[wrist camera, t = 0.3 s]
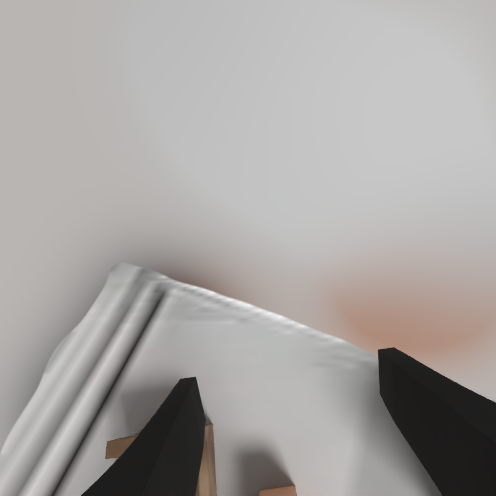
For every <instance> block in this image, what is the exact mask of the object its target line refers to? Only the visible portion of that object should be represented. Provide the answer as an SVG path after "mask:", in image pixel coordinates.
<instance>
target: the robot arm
mask: <svg viewBox="0 0 496 496" xmlns="http://www.w3.org/2000/svg"><path fill="white" fill-rule="evenodd" d="M378 360H379V382H380V395H381V397H382V399H383V401H384V403H385V405H386V407H387V409H388V411H389V413H390V415H391V416H392V418H393V420H394V422H395V423H396V425H397V427H398V428H399V430H400V431H401V433H402V434H403V436H404V437H405V439H406V440H407V442H408V443H409V445H410V446H411V448H412V449H413V451H414V453H415V454H416V456H417V457H418V459H419V460H420V462H421V463H422V465H423V466H424V468H425V469H426V471H427V472H428V474H429V475H430V477H431V478H432V480H433V481H434V483H435V484H436V486H437V487H438V489H439V491H440V492H441V494H442V495H443V496H496V403H495V402H493V401H491V400H489V399H487V398H485V397H483V396H481V395H479V394H477V393H475V392H473V391H471V390H469V389H467V388H465V387H463V386H461V385H460V384H458V383H456V382H454V381H452V380H450V379H448V378H447V377H445V376H443V375H441V374H439V373H438V372H436V371H434V370H432V369H431V368H429V367H427V366H425V365H424V364H422V363H420V362H419V361H417V360H415V359H413V358H412V357H410V356H408V355H407V354H405V353H403V352H401V351H399V350H397V349H396V348H394V347H393V348H387V349H380V350H378ZM205 420H206V419H205V415H204V411H203V406H202V402H201V397H200V393H199V389H198V384H197V380H196V377H191V378H184V379H180V380H179V382H178V383H177V384H176V386H175V387H174V388H173V390H172V391H171V393H170V394H169V395H168V397H167V398H166V400H165V401H164V402H163V404H162V405H161V406H160V408H159V409H158V410H157V412H156V413H155V414H154V416H153V417H152V418H151V420H150V421H149V422H148V424H147V425H146V426H145V427H144V429H143V430H142V431H141V432H140V434H139V435H138V436H137V437H136V438H135V440H134V441H133V442H132V443H131V445H130V446H129V447H128V448H127V449H126V450H125V452H124V453H123V454H122V455H121V456H120V457H119V458H118V459H117V460H116V461H115V462H114V464H113V465H112V466H111V467H110V468H109V469H108V470H107V471H106V472H105V473H104V474H103V475H102V476H101V477H100V478H99V479H98V480H97V481H96V482H95V483H94V484H93V485H92V486H91V487H90V488H89V489H88V490H86V491H85V492H84V493H83V494H82V495H81V496H195V494H196V488H197V483H198V477H199V472H200V466H201V460H202V454H203V448H204V436H205Z"/></svg>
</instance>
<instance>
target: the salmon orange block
mask: <svg viewBox="0 0 496 496" xmlns="http://www.w3.org/2000/svg"><path fill="white" fill-rule="evenodd" d="M259 496H297V494H296V488H295V486H288V487H280V488H272V489H265V490H260V493H259Z"/></svg>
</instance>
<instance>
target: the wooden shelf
mask: <svg viewBox="0 0 496 496" xmlns="http://www.w3.org/2000/svg"><path fill="white" fill-rule="evenodd" d="M138 435H139V434H136V435H132V436H128V437H124V438H120V439H116V440H112V441H108V442H107V447H106V457H105V459H109V458H117V457H120V456H121V455H122V454H123V453H124V452H125V450H126V449H127V448H128V447H129V446H130V445H131V443H132V442H133V441H134V440H135V438H136V437H137V436H138ZM195 496H217V495H216V476H215V457H214V438H213V424H208V425H205V436H204V448H203V454H202V460H201V466H200V472H199V477H198V483H197V488H196V494H195Z"/></svg>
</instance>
